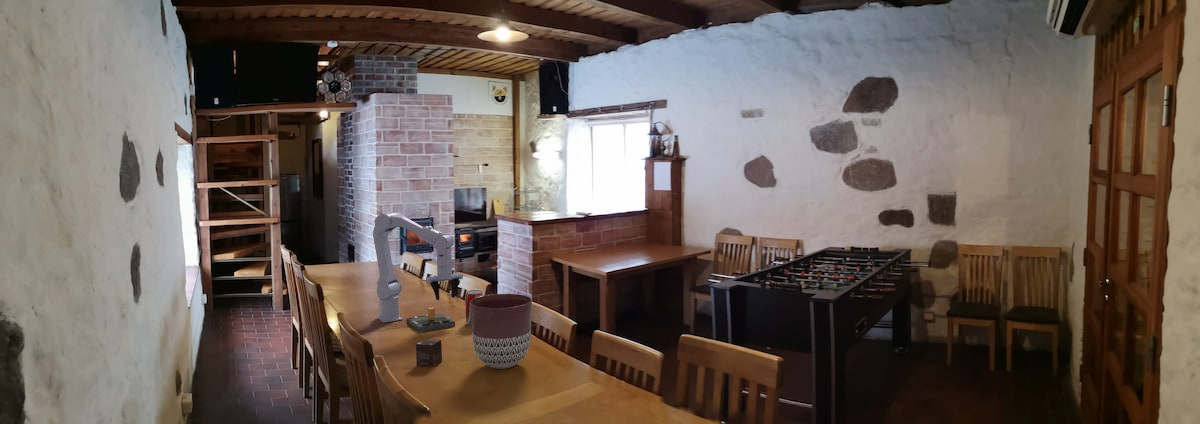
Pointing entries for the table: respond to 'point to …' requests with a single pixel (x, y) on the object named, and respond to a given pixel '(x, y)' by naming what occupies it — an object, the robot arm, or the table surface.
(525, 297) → the planter
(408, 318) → the twin grey rollers
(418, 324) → the panel
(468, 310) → the soda can
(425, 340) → the box
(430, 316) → the breaker lever
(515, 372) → the table surface
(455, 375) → the table surface
